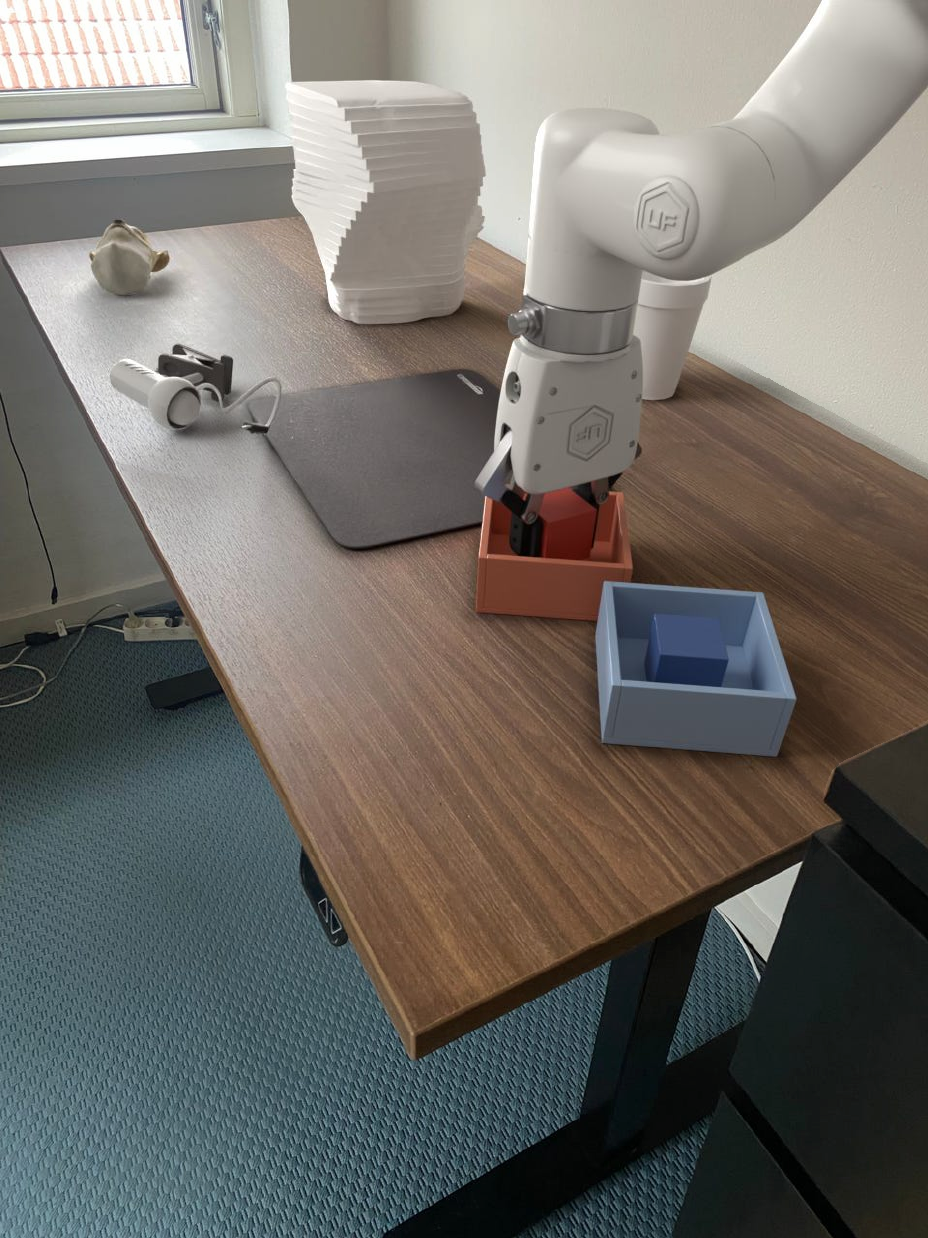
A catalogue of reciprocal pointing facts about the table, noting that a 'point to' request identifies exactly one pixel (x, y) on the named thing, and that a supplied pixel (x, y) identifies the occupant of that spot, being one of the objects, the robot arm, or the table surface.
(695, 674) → the blue block
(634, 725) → the blue bin
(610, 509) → the red bin
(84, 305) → the table surface
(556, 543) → the red block
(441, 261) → the paper stack
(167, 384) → the clip-on lamp
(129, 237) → the ceramic sculpture
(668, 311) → the foam cup
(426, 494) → the mouse pad
